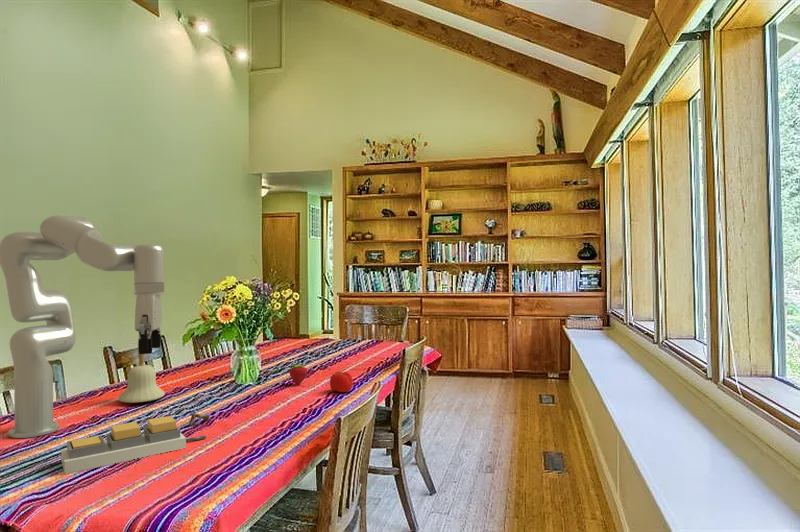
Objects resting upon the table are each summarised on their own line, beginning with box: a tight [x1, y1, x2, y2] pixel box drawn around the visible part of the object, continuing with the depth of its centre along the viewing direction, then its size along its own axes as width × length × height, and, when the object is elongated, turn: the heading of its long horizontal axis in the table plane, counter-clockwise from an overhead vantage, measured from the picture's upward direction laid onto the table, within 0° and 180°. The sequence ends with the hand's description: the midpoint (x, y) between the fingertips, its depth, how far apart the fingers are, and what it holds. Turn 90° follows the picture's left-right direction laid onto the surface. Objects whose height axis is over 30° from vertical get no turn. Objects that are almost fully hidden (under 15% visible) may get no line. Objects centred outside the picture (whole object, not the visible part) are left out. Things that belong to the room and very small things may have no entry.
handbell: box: [117, 338, 166, 403], centre depth 190 cm, size 15×15×25 cm
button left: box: [70, 435, 101, 449], centre depth 132 cm, size 6×6×2 cm
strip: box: [60, 425, 207, 475], centre depth 140 cm, size 10×35×5 cm, turn 127°
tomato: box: [329, 371, 354, 394], centre depth 205 cm, size 9×9×8 cm
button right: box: [147, 415, 177, 433], centre depth 143 cm, size 6×6×2 cm
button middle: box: [110, 421, 141, 440], centre depth 138 cm, size 6×6×2 cm
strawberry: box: [288, 361, 308, 386], centre depth 215 cm, size 6×8×10 cm
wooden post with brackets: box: [188, 411, 211, 427], centre depth 163 cm, size 2×8×4 cm, turn 159°
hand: (150, 350), depth 144 cm, fingers open, 9 cm apart
